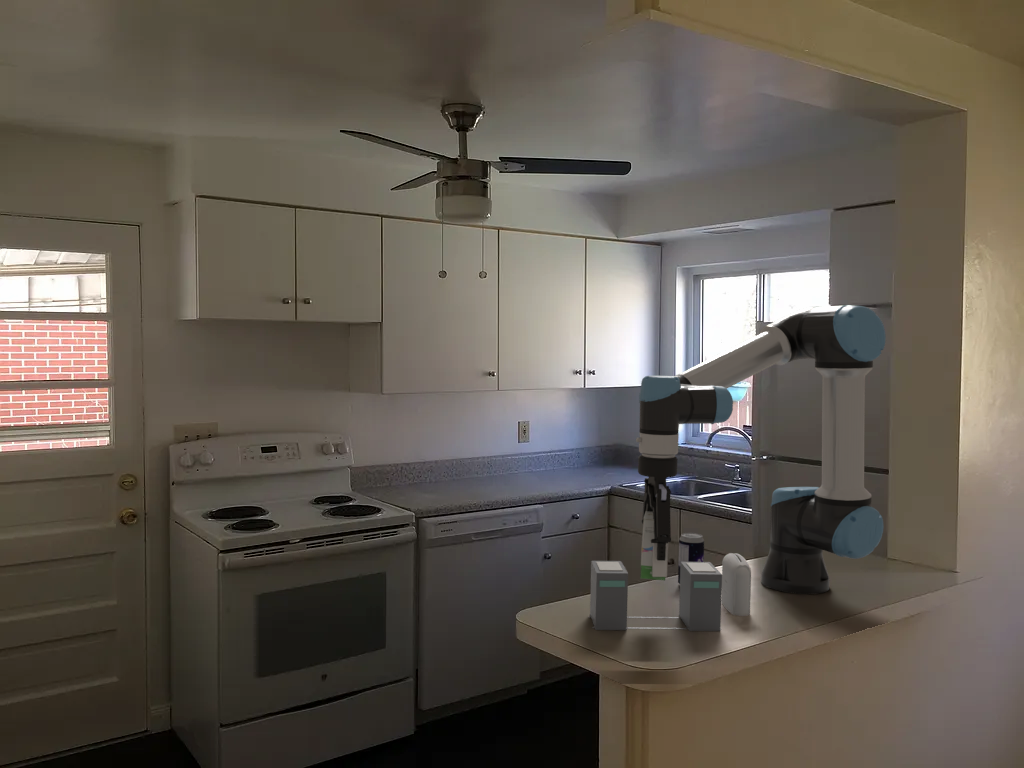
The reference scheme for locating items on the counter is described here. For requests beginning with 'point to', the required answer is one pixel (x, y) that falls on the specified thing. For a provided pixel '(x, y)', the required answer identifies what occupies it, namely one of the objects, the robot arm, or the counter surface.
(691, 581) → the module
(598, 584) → the module
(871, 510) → the robot arm
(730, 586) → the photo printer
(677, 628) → the rail
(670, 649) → the counter surface
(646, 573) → the ink box
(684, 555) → the beverage can
